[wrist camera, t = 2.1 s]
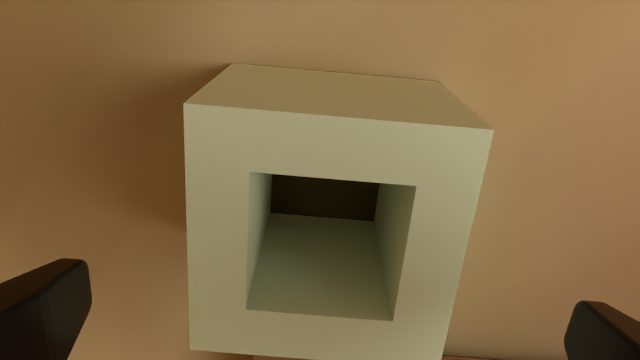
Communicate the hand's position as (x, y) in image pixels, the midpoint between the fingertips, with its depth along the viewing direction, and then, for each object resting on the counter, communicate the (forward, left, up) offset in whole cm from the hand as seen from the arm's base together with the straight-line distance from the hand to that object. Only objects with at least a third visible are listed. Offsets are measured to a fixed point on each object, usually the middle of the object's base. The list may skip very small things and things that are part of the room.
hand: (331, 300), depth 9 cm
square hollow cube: (0, 0, -7) cm, 7 cm away
